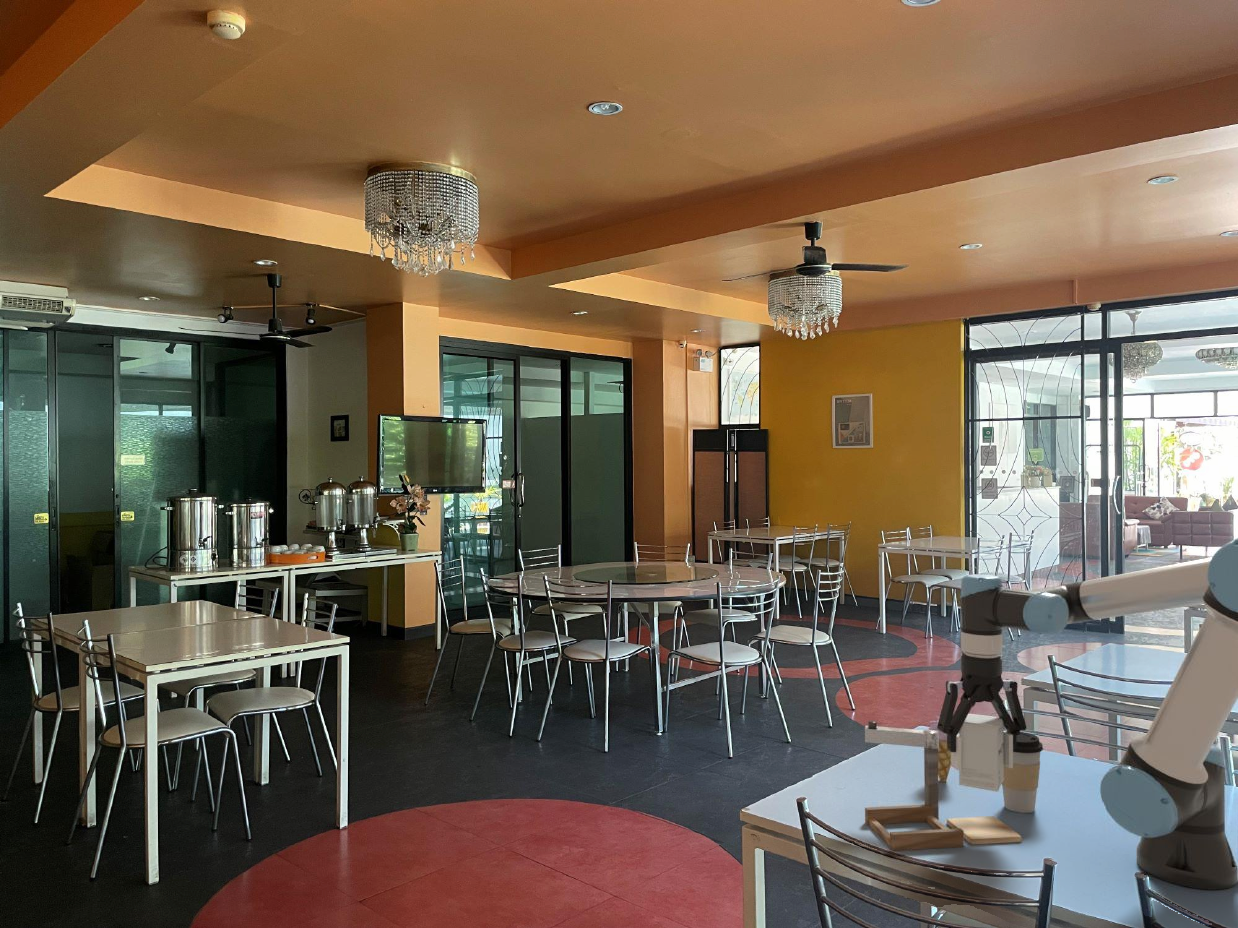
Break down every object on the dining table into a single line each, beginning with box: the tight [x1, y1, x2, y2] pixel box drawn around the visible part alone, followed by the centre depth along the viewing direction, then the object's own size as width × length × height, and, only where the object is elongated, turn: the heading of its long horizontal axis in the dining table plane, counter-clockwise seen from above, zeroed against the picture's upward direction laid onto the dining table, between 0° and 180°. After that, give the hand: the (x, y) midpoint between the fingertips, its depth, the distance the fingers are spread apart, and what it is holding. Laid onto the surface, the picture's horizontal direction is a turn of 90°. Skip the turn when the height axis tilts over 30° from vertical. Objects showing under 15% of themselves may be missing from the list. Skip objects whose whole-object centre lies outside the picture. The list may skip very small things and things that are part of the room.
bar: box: [864, 720, 939, 749], centre depth 184 cm, size 14×3×4 cm, turn 72°
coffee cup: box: [1001, 731, 1044, 814], centre depth 187 cm, size 9×9×15 cm
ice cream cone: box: [927, 716, 952, 783], centre depth 203 cm, size 7×6×15 cm
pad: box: [946, 815, 1022, 845], centre depth 174 cm, size 10×10×1 cm
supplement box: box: [958, 713, 1005, 793], centre depth 174 cm, size 7×7×13 cm
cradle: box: [864, 747, 965, 852], centre depth 175 cm, size 15×16×14 cm
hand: (981, 766), depth 174 cm, fingers closed on supplement box, 10 cm apart
